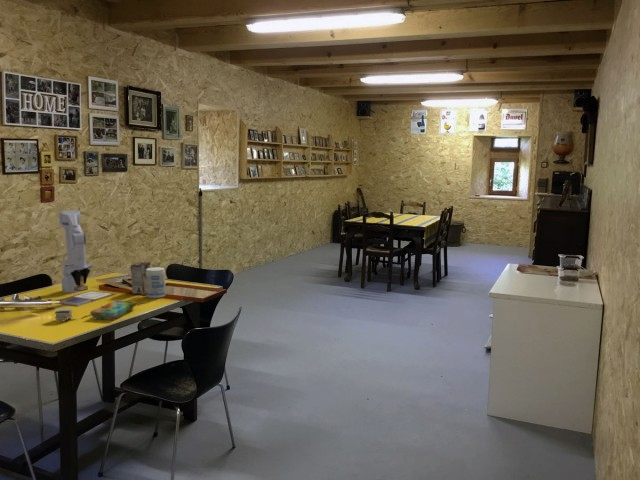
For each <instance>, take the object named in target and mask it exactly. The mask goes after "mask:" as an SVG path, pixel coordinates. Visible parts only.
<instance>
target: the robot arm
mask: <svg viewBox="0 0 640 480" xmlns="http://www.w3.org/2000/svg"><path fill="white" fill-rule="evenodd" d="M81 217H82V216H81V212H80V209H73V210H72V209H71V210H59V211H58V222H59V226H60V227H62V228H63V230H64V235H65V244H66V245H65V246H66V247H65V248H66V257H67V258H66V259H65V260H64V261H62V264H61V265H62V267H61V270H62V276H63V277H62V279H61V291H62V292H65V293H68V294H76V293H77V294H78V293H80V292H81V293H82V291H75V290H74V286H77V285H80V277H81V276H84V285H85V284H86V283H87V280H88V276H89V273H90V272H91V269H92V268H94V264H93V263H87V257H86V244H87V236H86V233H85V232H84V231H83V229H82V227H81V225H80V223H81Z"/></svg>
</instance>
